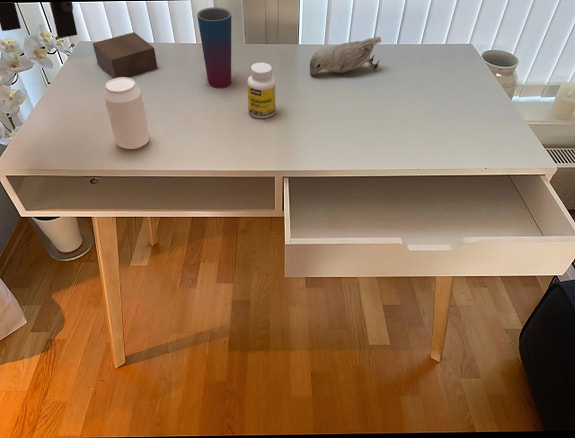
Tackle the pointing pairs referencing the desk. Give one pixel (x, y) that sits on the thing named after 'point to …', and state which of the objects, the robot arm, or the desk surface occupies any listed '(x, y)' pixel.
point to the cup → (216, 44)
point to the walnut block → (125, 55)
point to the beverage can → (126, 113)
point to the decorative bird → (344, 56)
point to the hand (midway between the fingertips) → (38, 33)
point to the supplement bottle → (261, 91)
